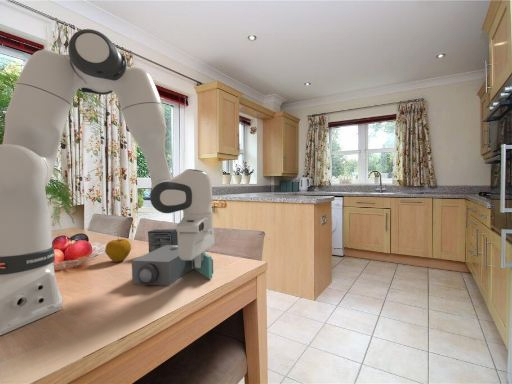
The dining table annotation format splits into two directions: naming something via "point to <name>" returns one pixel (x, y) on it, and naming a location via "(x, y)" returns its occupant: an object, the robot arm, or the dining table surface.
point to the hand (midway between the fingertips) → (199, 266)
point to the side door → (205, 266)
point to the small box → (162, 238)
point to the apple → (118, 249)
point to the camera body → (160, 267)
